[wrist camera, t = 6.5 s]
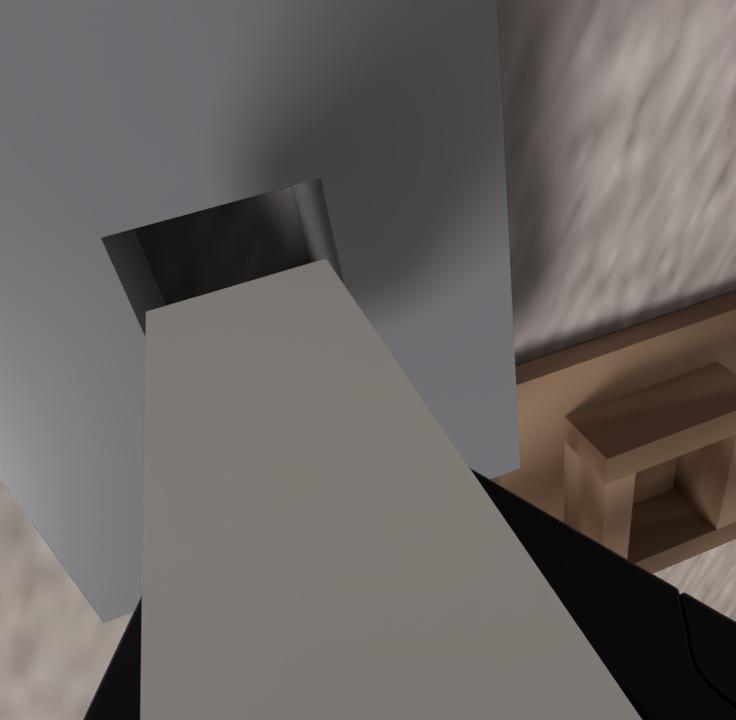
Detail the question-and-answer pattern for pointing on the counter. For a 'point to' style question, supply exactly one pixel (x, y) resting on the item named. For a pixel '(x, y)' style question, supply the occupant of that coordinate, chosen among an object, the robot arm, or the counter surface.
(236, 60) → the socket block
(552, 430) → the holster
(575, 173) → the counter surface
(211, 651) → the plug
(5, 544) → the counter surface
